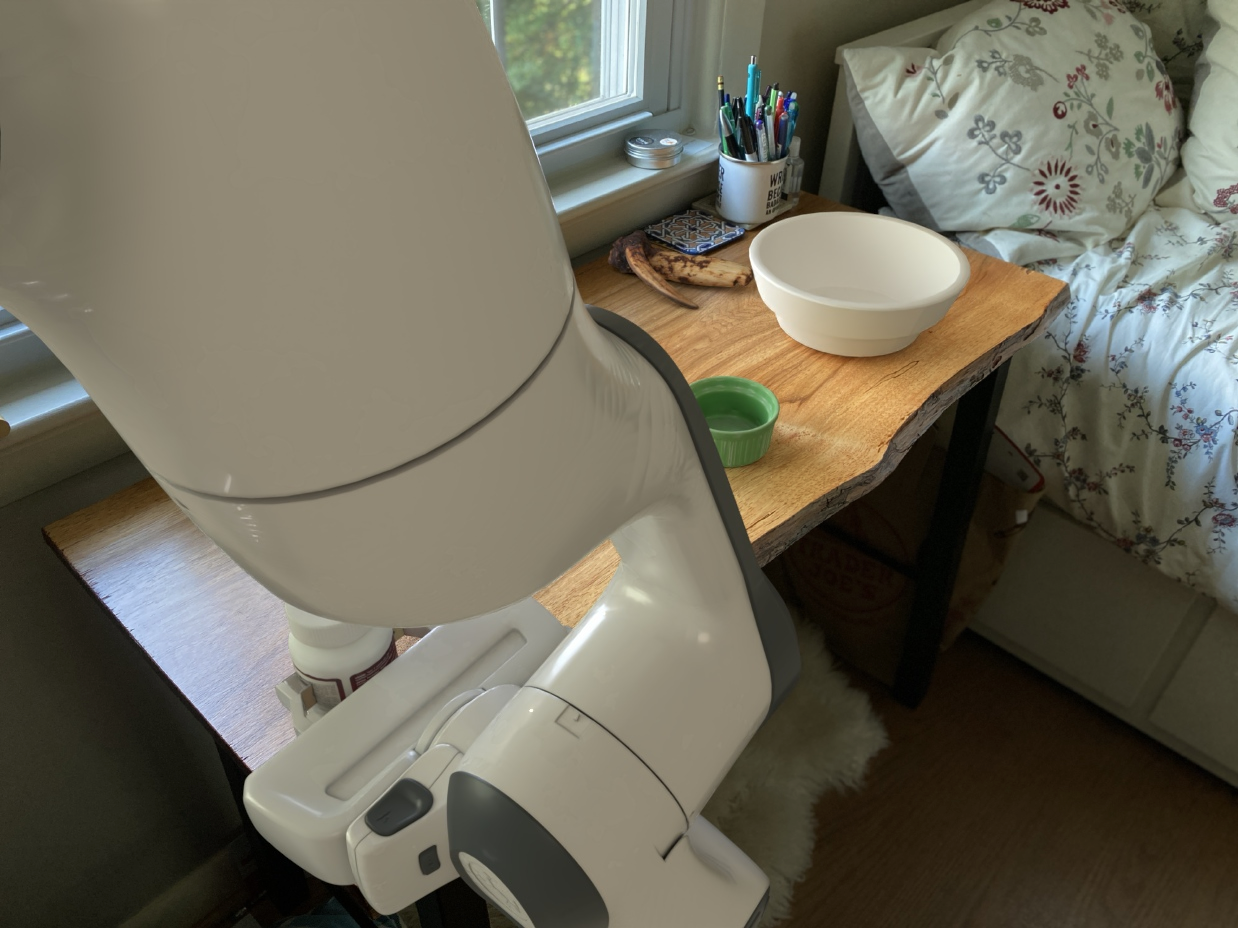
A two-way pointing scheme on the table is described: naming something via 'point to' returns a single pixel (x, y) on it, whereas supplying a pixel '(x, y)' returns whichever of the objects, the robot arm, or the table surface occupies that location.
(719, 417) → the ramekin
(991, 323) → the table surface
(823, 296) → the bowl
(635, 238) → the lashed bone hook
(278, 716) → the table surface
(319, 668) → the pill bottle
